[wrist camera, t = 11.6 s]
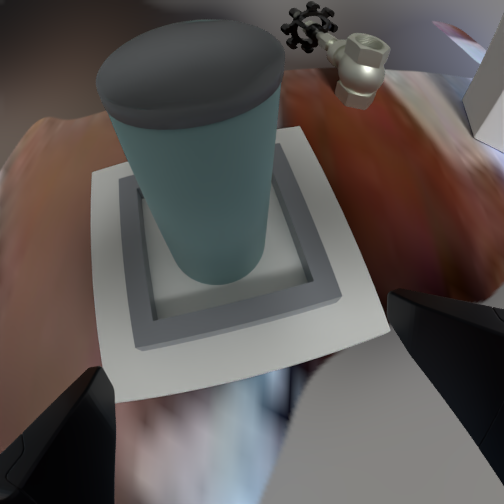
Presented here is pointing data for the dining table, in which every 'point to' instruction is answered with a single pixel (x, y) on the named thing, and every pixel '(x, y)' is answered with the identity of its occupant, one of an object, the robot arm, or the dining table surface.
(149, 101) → the cup
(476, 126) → the milk carton
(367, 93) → the valve
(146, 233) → the dock
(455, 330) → the robot arm
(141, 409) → the dining table surface
